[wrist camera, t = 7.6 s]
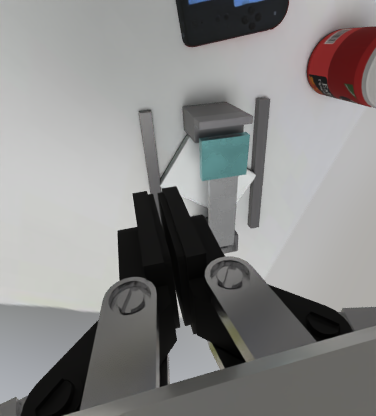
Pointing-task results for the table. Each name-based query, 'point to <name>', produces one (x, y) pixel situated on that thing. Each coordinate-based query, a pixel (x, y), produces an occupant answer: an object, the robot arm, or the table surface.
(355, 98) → the canned food
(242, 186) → the external hard drive
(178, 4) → the game console
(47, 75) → the table surface
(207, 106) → the socket frame
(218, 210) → the rectangular panel
